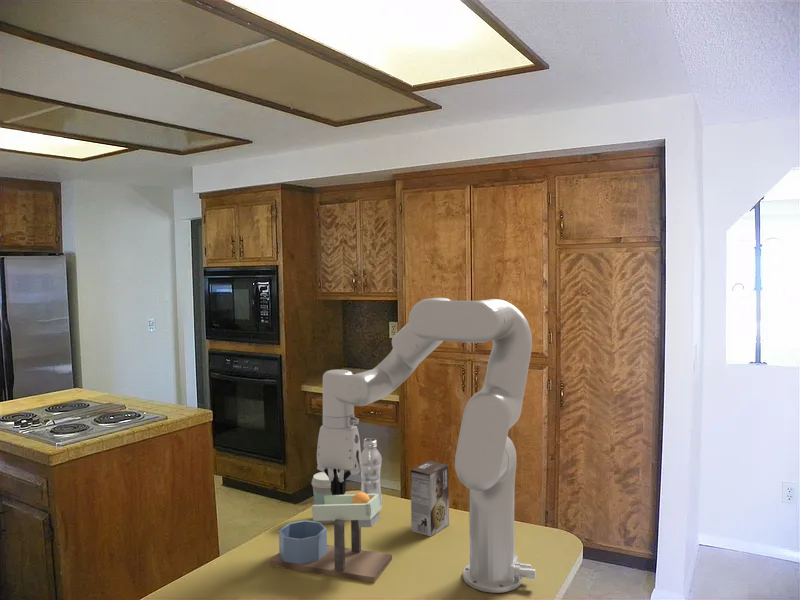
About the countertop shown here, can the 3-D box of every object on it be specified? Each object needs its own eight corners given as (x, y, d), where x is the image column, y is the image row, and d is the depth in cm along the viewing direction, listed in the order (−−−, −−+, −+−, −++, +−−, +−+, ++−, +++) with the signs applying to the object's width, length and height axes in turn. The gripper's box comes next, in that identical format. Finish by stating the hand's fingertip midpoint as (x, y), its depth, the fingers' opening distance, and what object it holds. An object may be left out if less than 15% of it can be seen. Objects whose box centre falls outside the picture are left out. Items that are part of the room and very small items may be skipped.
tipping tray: (392, 507, 139) (389, 484, 140) (371, 529, 127) (368, 504, 127) (339, 508, 144) (336, 486, 144) (314, 529, 132) (311, 506, 132)
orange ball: (375, 504, 133) (369, 487, 133) (368, 511, 129) (362, 493, 129) (360, 509, 134) (354, 492, 134) (353, 515, 130) (346, 498, 131)
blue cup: (332, 546, 140) (332, 523, 140) (312, 566, 131) (312, 541, 130) (294, 540, 144) (294, 518, 143) (272, 559, 134) (271, 535, 134)
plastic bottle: (357, 515, 162) (355, 443, 161) (362, 505, 169) (361, 436, 168) (380, 516, 161) (379, 443, 160) (384, 506, 168) (383, 437, 167)
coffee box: (429, 519, 158) (428, 459, 158) (450, 524, 155) (449, 464, 154) (410, 531, 151) (409, 469, 151) (431, 537, 147) (430, 473, 147)
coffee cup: (338, 527, 154) (337, 481, 154) (307, 524, 156) (306, 480, 156) (347, 514, 163) (346, 471, 162) (318, 512, 164) (317, 469, 164)
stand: (392, 559, 136) (391, 508, 135) (374, 582, 125) (373, 527, 125) (294, 544, 144) (293, 496, 144) (270, 565, 134) (269, 513, 133)
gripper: (373, 420, 143) (372, 494, 144) (317, 415, 148) (317, 487, 149) (361, 427, 136) (360, 505, 137) (303, 422, 141) (303, 497, 142)
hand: (338, 495), depth 143 cm, fingers closed
